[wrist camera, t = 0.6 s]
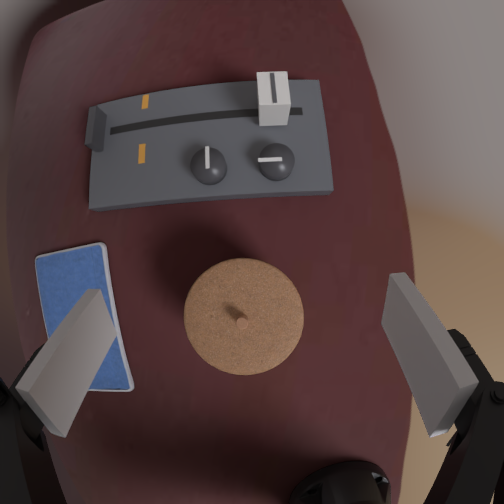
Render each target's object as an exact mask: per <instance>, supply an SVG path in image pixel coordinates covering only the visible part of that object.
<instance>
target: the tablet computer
mask: <svg viewBox="0 0 504 504" xmlns="http://www.w3.org/2000/svg"><path fill="white" fill-rule="evenodd" d="M35 268H36V276H37V283H38V289H39V295H40V301H41V307H42V312H43V318H44V322H45V327H46V332H47V336H48V339H49V338H50V337H51V335H52V334H53V333H54V331H55V330H56V329H57V327H58V326H59V325H60V323H61V322H62V321H63V319H64V318H65V317H66V315H67V314H68V313H69V312H70V310H71V309H72V308H73V307H74V305H75V304H76V303H77V302H78V300H79V299H80V298H81V297H82V295H83V294H84V293H85V292H86V291H87V289H101V292H102V295H103V298H104V301H105V303H106V306H107V309H108V311H109V314H110V317H111V319H112V322H113V325H114V327H115V330H116V332H117V336H116V338H115V339H114V341H113V343H112V345H111V347H110V349H109V351H108V352H107V354H106V356H105V358H104V360H103V362H102V364H101V366H100V368H99V370H98V371H97V373H96V375H95V377H94V379H93V381H92V383H91V385H90V387H89V389H88V391H111V392H112V391H113V392H130V391H132V390H133V389H134V382H133V378H132V375H131V371H130V368H129V364H128V361H127V357H126V353H125V349H124V344H123V340H122V336H121V331H120V327H119V322H118V317H117V311H116V306H115V301H114V295H113V289H112V283H111V277H110V270H109V263H108V254H107V247H106V245H105V244H104V243H102V242H98V243H93V244H88V245H84V246H79V247H75V248H70V249H65V250H61V251H56V252H52V253H47V254H43V255H39V256H37V257H36V259H35Z"/></svg>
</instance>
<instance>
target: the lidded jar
mask: <svg viewBox="0 0 504 504" xmlns="http://www.w3.org/2000/svg"><path fill="white" fill-rule="evenodd" d="M303 323H304V312H303V305H302V301H301V298H300V296H299V293H298V291H297V289H296V287H295V286H294V285H293V283H292V282H291V280H290V279H289V278H288V277H287V276H286V275H285V274H284V273H283V272H281V271H280V270H279V269H278V268H276V267H274V266H272V265H271V264H269V263H266V262H263V261H261V260H256V259H251V258H236V259H229V260H226V261H223V262H220V263H218V264H216V265H214V266H212V267H210V268H209V269H207V270H206V271H205V272H204V273H202V274H201V275H200V276H199V277H198V278H197V280H196V281H195V282H194V284H193V285H192V287H191V289H190V291H189V293H188V295H187V298H186V301H185V306H184V325H185V330H186V333H187V337H188V339H189V341H190V343H191V345H192V347H193V348H194V349H195V351H196V352H197V353H198V354H199V355H200V357H201V358H202V359H203V360H205V361H206V362H207V363H209V364H210V365H211V366H213V367H215V368H217V369H219V370H221V371H224V372H227V373H231V374H236V375H252V374H258V373H262V372H265V371H267V370H270V369H272V368H274V367H275V366H277V365H279V364H280V363H281V362H283V361H284V360H285V359H286V358H287V357H288V356H289V355H290V354H291V352H292V351H293V350H294V348H295V347H296V345H297V343H298V341H299V339H300V336H301V334H302V329H303Z"/></svg>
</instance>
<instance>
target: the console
mask: <svg viewBox="0 0 504 504" xmlns="http://www.w3.org/2000/svg"><path fill="white" fill-rule="evenodd" d="M288 84H289V92H290V100H291V107H290V112H289V117H288V122H287V125H276V126H259V113H258V99H257V81H242V82H229V83H218V84H208V85H199V86H191V87H184V88H177V89H171V90H164V91H159V92H153V93H148V94H142V95H137V96H133V97H128V98H123V99H119V100H115V101H111V102H106V103H102V104H99V105H97V106H92V107H89V114H88V121H87V128H86V136H85V145H86V146H87V147H89V148H90V149H92V156H91V170H90V188H89V209H91V210H94V211H98V212H100V211H108V210H116V209H125V208H134V207H144V206H154V205H164V204H175V203H187V202H199V201H213V200H227V199H243V198H261V197H281V196H307V195H329V194H330V193H331V192H332V191H334V190H333V180H332V171H331V162H330V153H329V145H328V137H327V130H326V123H325V116H324V109H323V103H322V97H321V91H320V85H319V80H288Z"/></svg>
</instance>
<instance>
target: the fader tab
mask: <svg viewBox="0 0 504 504" xmlns="http://www.w3.org/2000/svg"><path fill="white" fill-rule="evenodd" d="M257 99H258V113H259V126H276V125H287V122H288V117H289V112H290V107H291V100H290V92H289V84H288V76H287V72H257Z"/></svg>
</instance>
